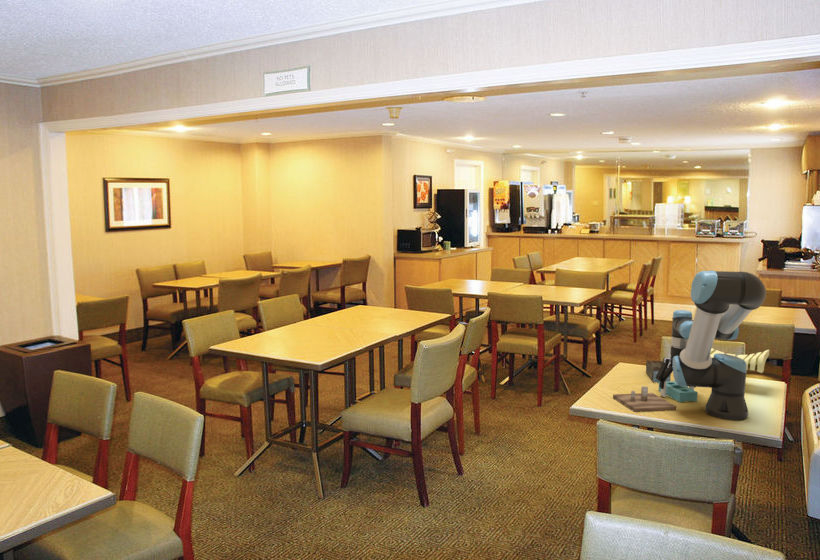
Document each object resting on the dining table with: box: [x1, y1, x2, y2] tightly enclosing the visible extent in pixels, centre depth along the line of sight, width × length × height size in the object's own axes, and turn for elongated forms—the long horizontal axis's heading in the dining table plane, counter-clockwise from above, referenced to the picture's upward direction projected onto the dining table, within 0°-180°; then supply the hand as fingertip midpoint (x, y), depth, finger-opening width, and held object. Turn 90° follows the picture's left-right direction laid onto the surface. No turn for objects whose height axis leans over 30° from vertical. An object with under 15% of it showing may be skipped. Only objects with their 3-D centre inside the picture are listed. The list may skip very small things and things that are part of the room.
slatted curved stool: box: [710, 347, 770, 374], centre depth 288 cm, size 30×16×18 cm, turn 52°
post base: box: [612, 386, 678, 413], centre depth 262 cm, size 18×18×7 cm
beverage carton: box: [645, 360, 672, 384], centre depth 301 cm, size 8×19×7 cm, turn 169°
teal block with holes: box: [658, 380, 698, 403], centre depth 273 cm, size 16×8×4 cm, turn 9°
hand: (677, 395), depth 274 cm, fingers open, 12 cm apart
